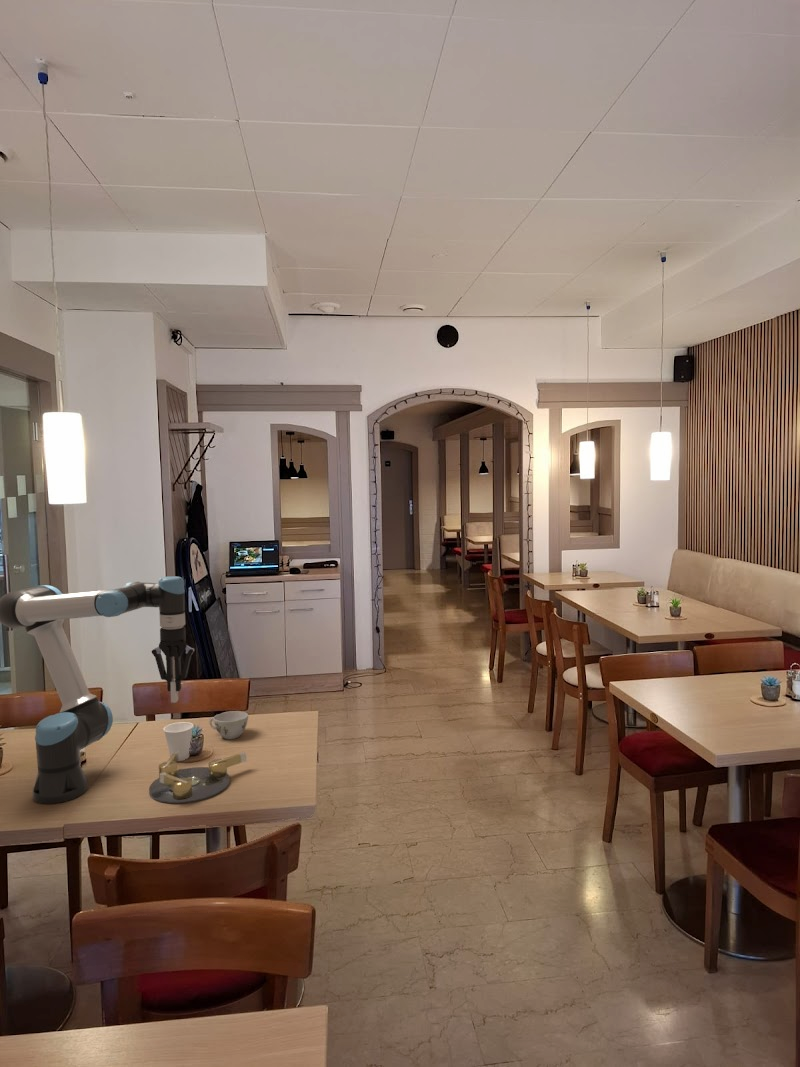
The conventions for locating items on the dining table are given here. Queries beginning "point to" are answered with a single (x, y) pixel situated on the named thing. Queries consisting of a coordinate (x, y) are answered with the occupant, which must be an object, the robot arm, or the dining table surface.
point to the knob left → (170, 765)
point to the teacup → (230, 723)
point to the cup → (179, 738)
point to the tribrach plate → (200, 786)
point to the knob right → (224, 765)
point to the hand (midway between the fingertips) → (174, 701)
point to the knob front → (177, 785)
